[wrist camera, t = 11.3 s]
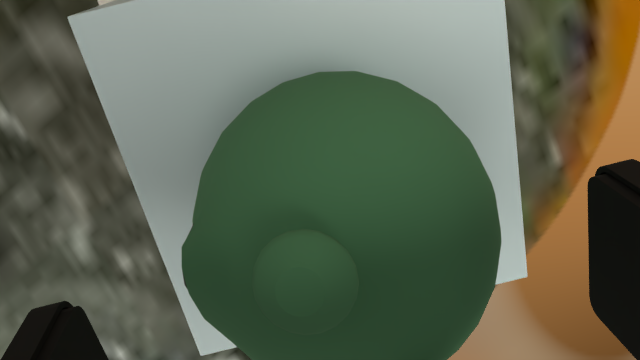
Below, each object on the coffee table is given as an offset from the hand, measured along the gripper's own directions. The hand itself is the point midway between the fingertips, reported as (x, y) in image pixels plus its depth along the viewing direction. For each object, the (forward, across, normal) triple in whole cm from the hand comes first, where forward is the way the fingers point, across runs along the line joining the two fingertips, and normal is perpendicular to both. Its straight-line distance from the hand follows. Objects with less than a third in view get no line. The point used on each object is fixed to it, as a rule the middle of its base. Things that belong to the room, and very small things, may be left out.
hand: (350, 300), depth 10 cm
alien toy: (+8, 0, 0) cm, 8 cm away
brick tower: (+19, -1, +1) cm, 19 cm away
